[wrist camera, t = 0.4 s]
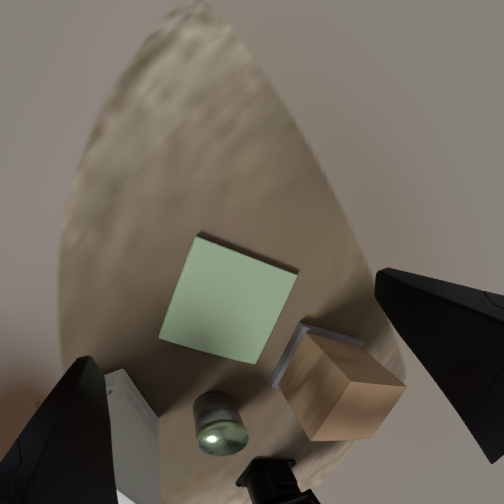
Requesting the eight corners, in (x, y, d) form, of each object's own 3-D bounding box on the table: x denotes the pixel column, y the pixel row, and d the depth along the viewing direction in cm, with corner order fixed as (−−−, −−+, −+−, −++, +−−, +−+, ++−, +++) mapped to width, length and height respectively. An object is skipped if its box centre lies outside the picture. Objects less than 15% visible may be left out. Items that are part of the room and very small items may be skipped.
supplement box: (124, 365, 23) (104, 476, 11) (160, 418, 25) (166, 522, 13) (64, 382, 22) (27, 478, 10) (103, 432, 24) (90, 525, 12)
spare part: (227, 425, 27) (237, 458, 22) (186, 417, 25) (190, 452, 21) (243, 395, 26) (256, 428, 22) (200, 386, 25) (206, 421, 20)
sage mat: (253, 360, 26) (255, 364, 25) (158, 334, 23) (158, 338, 22) (294, 273, 25) (297, 275, 24) (195, 235, 22) (196, 236, 22)
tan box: (329, 390, 29) (370, 441, 21) (268, 381, 27) (301, 445, 18) (359, 338, 28) (412, 382, 20) (299, 321, 26) (349, 374, 17)
